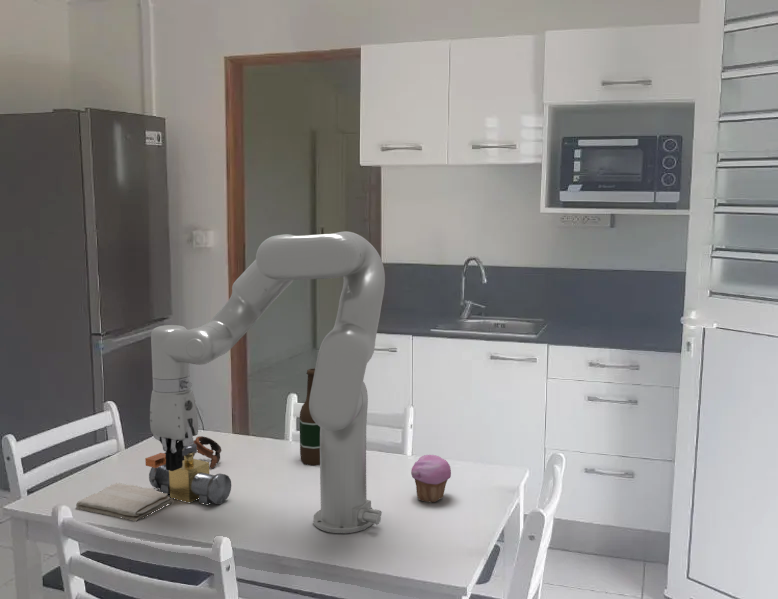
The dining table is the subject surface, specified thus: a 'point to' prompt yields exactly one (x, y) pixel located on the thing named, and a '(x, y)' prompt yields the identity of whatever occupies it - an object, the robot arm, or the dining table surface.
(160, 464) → the lever
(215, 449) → the brown curved band
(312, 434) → the beer bottle
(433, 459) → the cupcake
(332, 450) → the robot arm
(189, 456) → the valve body
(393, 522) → the dining table surface
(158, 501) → the washcloth
